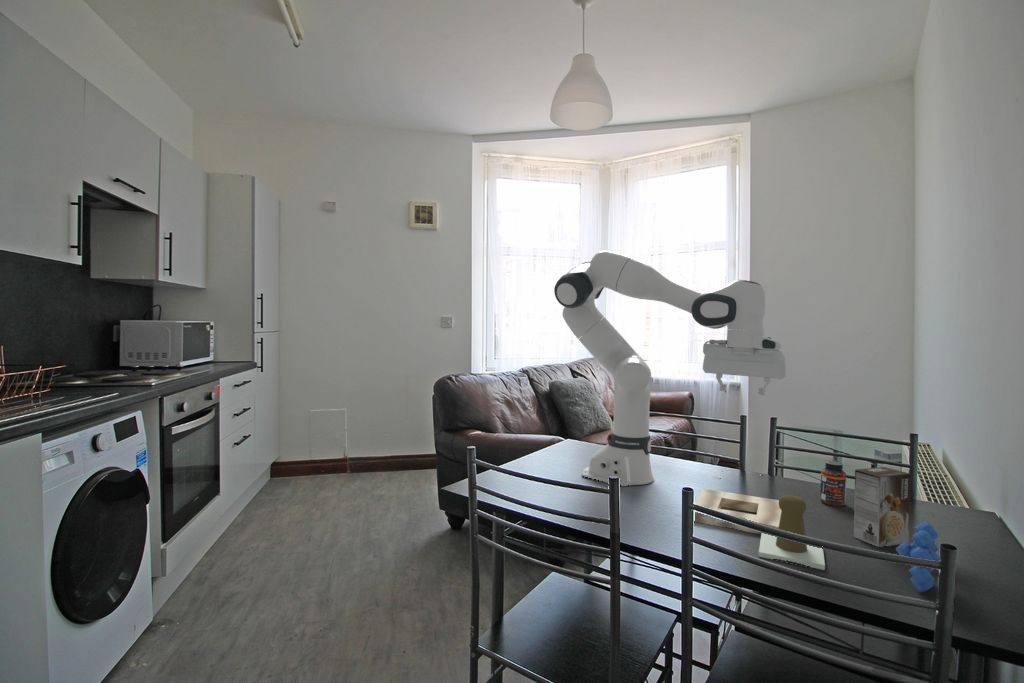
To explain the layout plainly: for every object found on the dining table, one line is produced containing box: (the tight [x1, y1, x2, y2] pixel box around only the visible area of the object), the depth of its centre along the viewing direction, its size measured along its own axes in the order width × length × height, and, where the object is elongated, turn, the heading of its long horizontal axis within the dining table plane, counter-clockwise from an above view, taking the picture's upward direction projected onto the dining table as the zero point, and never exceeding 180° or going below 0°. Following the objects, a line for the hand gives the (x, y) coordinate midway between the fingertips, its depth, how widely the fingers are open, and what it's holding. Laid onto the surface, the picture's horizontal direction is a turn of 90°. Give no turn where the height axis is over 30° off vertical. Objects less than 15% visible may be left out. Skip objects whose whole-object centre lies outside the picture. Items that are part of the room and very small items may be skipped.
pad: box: [758, 533, 826, 571], centre depth 110 cm, size 12×12×1 cm
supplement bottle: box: [819, 460, 847, 507], centre depth 140 cm, size 6×6×11 cm
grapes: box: [895, 521, 941, 593], centre depth 96 cm, size 12×7×12 cm, turn 135°
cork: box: [776, 494, 807, 553], centre depth 110 cm, size 6×6×11 cm
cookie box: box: [853, 466, 911, 548], centre depth 116 cm, size 9×6×16 cm
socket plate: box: [694, 488, 782, 535], centre depth 130 cm, size 20×20×2 cm
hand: (741, 392), depth 135 cm, fingers open, 8 cm apart
